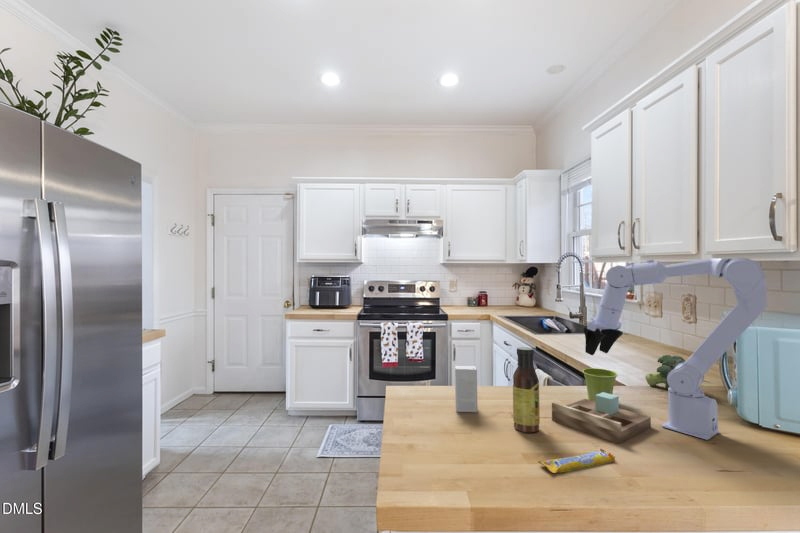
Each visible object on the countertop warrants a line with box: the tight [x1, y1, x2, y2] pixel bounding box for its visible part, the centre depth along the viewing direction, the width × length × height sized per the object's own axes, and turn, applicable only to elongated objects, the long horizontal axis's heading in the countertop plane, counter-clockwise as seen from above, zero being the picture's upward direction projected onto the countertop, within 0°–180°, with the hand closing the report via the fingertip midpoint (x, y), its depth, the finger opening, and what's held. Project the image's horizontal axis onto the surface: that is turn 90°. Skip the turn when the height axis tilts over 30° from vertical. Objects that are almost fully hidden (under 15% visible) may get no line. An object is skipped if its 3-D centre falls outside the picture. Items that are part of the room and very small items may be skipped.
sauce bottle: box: [512, 346, 541, 433], centre depth 96 cm, size 6×6×20 cm
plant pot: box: [582, 367, 618, 401], centre depth 116 cm, size 9×9×9 cm
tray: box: [551, 398, 652, 445], centre depth 99 cm, size 17×16×4 cm
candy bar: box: [538, 448, 616, 474], centre depth 78 cm, size 17×4×2 cm, turn 109°
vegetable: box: [645, 354, 686, 390], centre depth 126 cm, size 12×13×15 cm
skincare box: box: [454, 365, 479, 413], centre depth 109 cm, size 6×4×12 cm
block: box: [595, 392, 620, 415], centre depth 101 cm, size 4×4×4 cm
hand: (596, 352), depth 110 cm, fingers open, 7 cm apart
